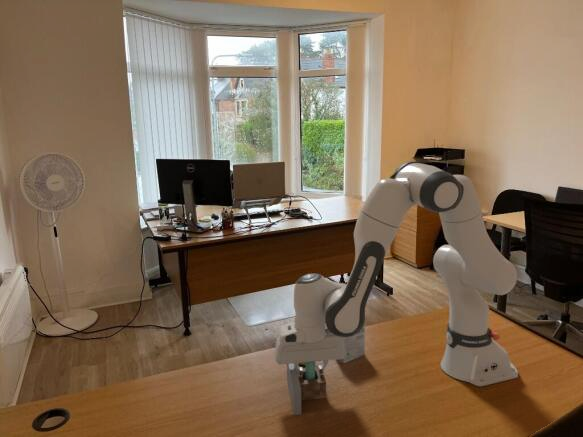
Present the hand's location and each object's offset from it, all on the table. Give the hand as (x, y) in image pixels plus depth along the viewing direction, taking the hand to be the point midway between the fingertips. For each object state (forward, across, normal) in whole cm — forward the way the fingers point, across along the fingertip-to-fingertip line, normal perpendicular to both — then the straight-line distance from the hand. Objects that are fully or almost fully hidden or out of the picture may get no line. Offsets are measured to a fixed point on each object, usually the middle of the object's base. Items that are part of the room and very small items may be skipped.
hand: (310, 373), depth 126 cm
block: (+6, 0, 0) cm, 6 cm away
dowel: (+5, 0, 0) cm, 5 cm away
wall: (+6, +5, +1) cm, 8 cm away
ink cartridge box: (+6, -16, -17) cm, 24 cm away
